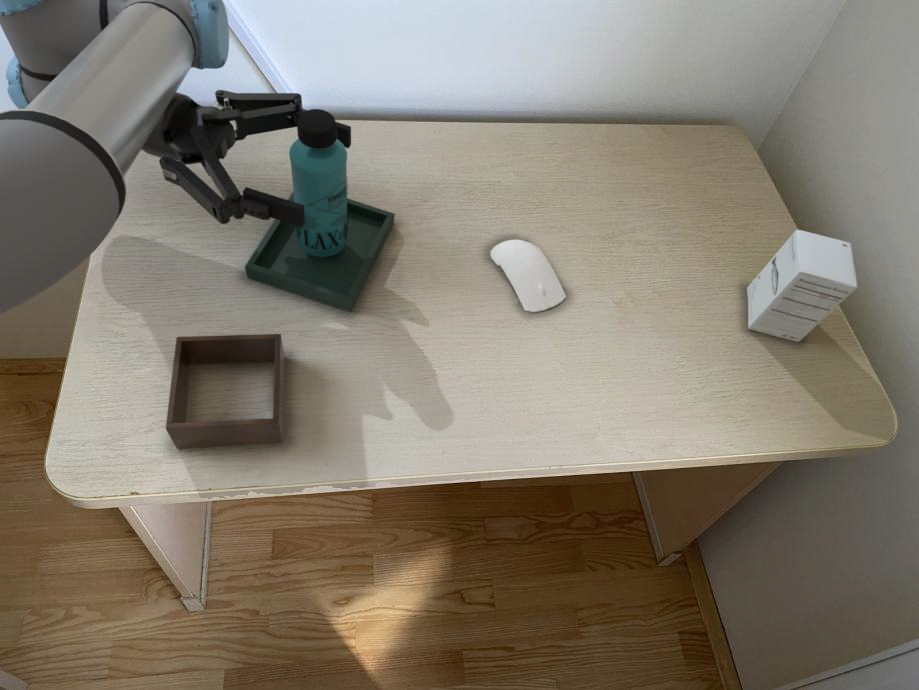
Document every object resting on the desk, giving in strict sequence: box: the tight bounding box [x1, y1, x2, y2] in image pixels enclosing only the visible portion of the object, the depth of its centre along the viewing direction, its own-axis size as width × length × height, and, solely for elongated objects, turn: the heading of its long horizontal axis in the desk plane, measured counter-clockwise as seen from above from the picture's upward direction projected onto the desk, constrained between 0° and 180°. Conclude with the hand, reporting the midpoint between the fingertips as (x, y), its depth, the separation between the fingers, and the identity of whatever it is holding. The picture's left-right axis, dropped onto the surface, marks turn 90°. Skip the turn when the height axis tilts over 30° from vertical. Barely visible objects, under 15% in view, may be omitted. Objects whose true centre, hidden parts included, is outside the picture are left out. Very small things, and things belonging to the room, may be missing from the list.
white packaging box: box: [746, 229, 858, 343], centre depth 85 cm, size 7×7×13 cm
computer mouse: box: [489, 239, 567, 313], centre depth 87 cm, size 7×12×2 cm, turn 28°
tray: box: [244, 190, 396, 313], centre depth 85 cm, size 16×14×2 cm
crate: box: [165, 333, 286, 450], centre depth 71 cm, size 11×11×5 cm
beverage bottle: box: [288, 108, 349, 257], centre depth 77 cm, size 6×7×20 cm
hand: (328, 175), depth 74 cm, fingers open, 13 cm apart
